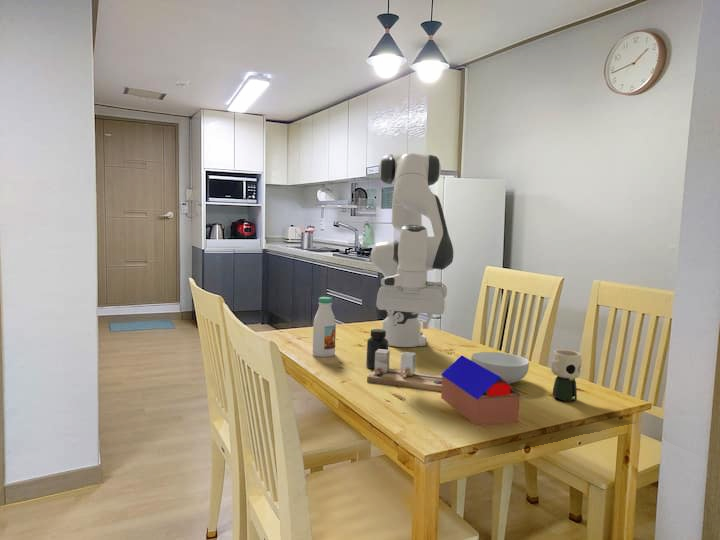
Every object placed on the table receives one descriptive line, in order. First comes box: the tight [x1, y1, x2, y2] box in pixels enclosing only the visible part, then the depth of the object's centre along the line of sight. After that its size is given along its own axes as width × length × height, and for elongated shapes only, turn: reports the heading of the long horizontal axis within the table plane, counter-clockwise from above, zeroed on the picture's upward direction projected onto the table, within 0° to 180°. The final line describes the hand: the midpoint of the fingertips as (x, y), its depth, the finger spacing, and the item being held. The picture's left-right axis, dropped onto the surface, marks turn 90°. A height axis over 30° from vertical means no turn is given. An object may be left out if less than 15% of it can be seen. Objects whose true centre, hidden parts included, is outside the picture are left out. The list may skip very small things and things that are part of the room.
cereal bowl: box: [470, 351, 530, 385], centre depth 161 cm, size 17×17×7 cm
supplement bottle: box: [365, 328, 389, 370], centre depth 171 cm, size 7×7×12 cm
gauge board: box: [366, 349, 442, 392], centre depth 157 cm, size 11×27×8 cm, turn 73°
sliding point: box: [400, 351, 416, 378], centre depth 158 cm, size 7×4×6 cm, turn 163°
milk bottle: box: [312, 296, 337, 358], centre depth 183 cm, size 8×8×20 cm
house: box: [440, 355, 522, 426], centre depth 136 cm, size 12×20×12 cm, turn 16°
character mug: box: [550, 349, 583, 402], centre depth 146 cm, size 11×7×13 cm, turn 117°
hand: (409, 327), depth 158 cm, fingers open, 8 cm apart
